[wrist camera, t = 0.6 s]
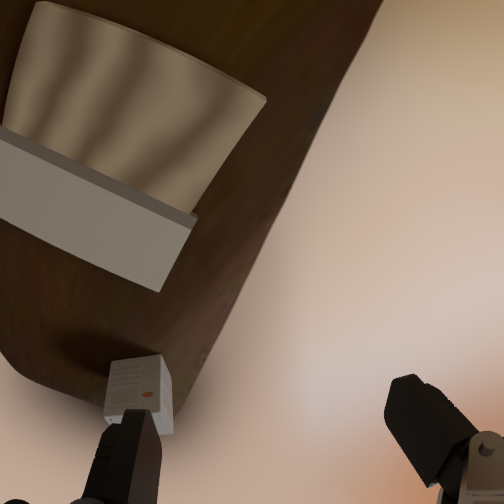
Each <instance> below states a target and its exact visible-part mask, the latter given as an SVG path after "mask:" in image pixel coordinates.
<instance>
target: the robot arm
mask: <svg viewBox="0 0 504 504" xmlns="http://www.w3.org/2000/svg"><path fill="white" fill-rule="evenodd" d="M384 419H385V423H386V425H387V427H388V429H389V430H390V431H391V433H392V435H393V436H394V438H395V439H396V441H397V442H398V444H399V445H400V447H401V448H402V450H403V452H404V453H405V454H406V456H407V458H408V459H409V461H410V462H411V464H412V465H413V467H414V468H415V470H416V471H417V473H418V475H419V476H420V478H421V479H422V481H423V482H424V484H425V485H426V487H427V488H429V487H432V486H433V485H436V484H438V483H439V484H440V485H441V489H440V491H439V495H438V500H437V504H504V437H501V436H500V435H499V434H497V433H494V432H492V431H483V432H479V431H478V430H477V429H476V428H475V427H474V426H473V425H472V423H471V422H470V421H469V420H468V419H467V418H466V417H465V416H464V415H463V414H462V413H461V412H460V411H459V410H458V409H457V407H454V404H452V402H451V401H450V400H448V399H447V397H446V396H445V395H444V394H443V393H442V392H441V391H440V390H439V389H438V388H436V387H434V386H432V385H430V384H428V383H426V384H424V383H423V382H422V381H421V380H420V378H419V377H418V376H417V375H415V374H410V375H406V376H402V377H399V378H396V379H394V380H393V381H392V383H391V386H390V390H389V395H388V398H387V402H386V406H385V410H384ZM161 460H162V447H161V441H160V438H159V435H158V432H157V429H156V426H155V423H154V420H153V417H152V414H151V411H150V410H149V409H126V410H125V411H124V414H123V418H122V421H121V424H118V423H112V424H111V425H110V426H109V427H108V428H107V429H106V430H105V431H104V432H103V433H102V436H101V439H100V442H99V445H98V448H97V451H96V454H95V458H94V460H93V463H92V466H91V469H90V473H89V476H88V479H87V483H86V486H85V489H84V493H83V495H82V497H81V499H77V500H75V501H73V502H71V503H70V504H157V496H158V486H159V477H160V468H161ZM4 504H29V503H28V502H26V501H24V500H19V499H13V500H10V501H7V502H6V503H4Z"/></svg>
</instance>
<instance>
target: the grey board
mask: <svg viewBox="0 0 504 504" xmlns="http://www.w3.org/2000/svg"><path fill="white" fill-rule="evenodd" d="M0 218H2V219H4V220H6V221H8V222H9V223H11V224H13V225H15V226H17V227H19V228H21V229H23V230H25V231H26V232H28V233H30V234H32V235H34V236H36V237H38V238H40V239H42V240H44V241H46V242H48V243H50V244H52V245H54V246H56V247H58V248H60V249H62V250H65V251H67V252H69V253H71V254H73V255H75V256H77V257H79V258H81V259H84V260H86V261H88V262H90V263H92V264H94V265H97V266H99V267H101V268H103V269H105V270H108V271H110V272H112V273H114V274H117V275H119V276H121V277H124V278H126V279H128V280H130V281H133V282H135V283H137V284H140V285H142V286H145V287H147V288H149V289H152V290H154V291H157V292H159V291H160V289H161V287H162V286H163V284H164V282H165V280H166V278H167V276H168V274H169V272H170V270H171V268H172V266H173V264H174V262H175V260H176V258H177V256H178V254H179V253H180V251H181V249H182V247H183V245H184V243H185V241H186V239H187V237H188V236H189V234H190V232H191V230H192V228H193V226H194V225H195V223H196V221H197V219H198V217H197V214H196V213H194V212H192V211H191V213H190V214H189V215H188V214H186V213H184V212H182V211H180V210H178V209H176V208H174V207H172V206H169V205H167V204H165V203H163V202H161V201H159V200H157V199H155V198H153V197H151V196H148V195H146V194H144V193H142V192H140V191H138V190H136V189H134V188H132V187H130V186H127V185H125V184H123V183H121V182H119V181H117V180H115V179H113V178H111V177H108V176H106V175H104V174H102V173H100V172H98V171H96V170H94V169H91V168H89V167H87V166H85V165H83V164H81V163H79V162H77V161H75V160H72V159H70V158H68V157H66V156H64V155H62V154H60V153H57V152H55V151H53V150H51V149H49V148H47V147H45V146H43V145H40V144H38V143H36V142H34V141H32V140H30V139H28V138H25V137H23V136H21V135H19V134H17V133H15V132H13V131H10V130H8V129H6V128H4V127H2V123H0Z"/></svg>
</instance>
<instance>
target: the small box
mask: <svg viewBox="0 0 504 504" xmlns="http://www.w3.org/2000/svg"><path fill="white" fill-rule="evenodd" d="M126 409H149V410H150V411H151V414H152V417H153V420H154V423H155V426H156V429H157V432H158V435H165V434H173V412H172V382H171V376H170V374H169V372H168V369H167V367H166V365H165V362H164V360H163V358H162V355H161V354H158V355H151V356H145V357H138V358H130V359H123V360H116V361H112V362H111V367H110V373H109V379H108V385H107V391H106V397H105V403H104V411H103V417H104V418H105V420H106V421H107V422H108V423H109V425H111V424H112V423H118V424H121V421H122V418H123V414H124V411H125V410H126Z"/></svg>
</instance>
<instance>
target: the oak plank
mask: <svg viewBox="0 0 504 504" xmlns="http://www.w3.org/2000/svg"><path fill="white" fill-rule="evenodd" d="M266 102H267V101H266V97H265V96H263V95H262V94H260V93H258V92H257V91H255V90H253V89H252V88H250V87H248V86H247V85H245V84H243V83H241V82H240V81H238V80H236V79H234V78H233V77H231V76H229V75H227V74H225V73H224V72H222V71H220V70H218V69H216V68H214V67H212V66H210V65H209V64H207V63H205V62H203V61H201V60H199V59H197V58H195V57H193V56H191V55H189V54H187V53H185V52H183V51H180V50H178V49H176V48H174V47H172V46H170V45H168V44H165V43H163V42H161V41H159V40H156V39H154V38H152V37H150V36H147V35H145V34H142V33H140V32H138V31H135V30H133V29H130V28H128V27H125V26H122V25H120V24H117V23H114V22H112V21H109V20H106V19H103V18H100V17H98V16H95V15H92V14H89V13H86V12H82V11H79V10H76V9H73V8H69V7H66V6H62V5H59V4H55V3H51V2H47V1H42V2H36V4H35V7H34V9H33V12H32V14H31V17H30V19H29V22H28V25H27V28H26V30H25V33H24V36H23V39H22V42H21V45H20V49H19V52H18V55H17V59H16V62H15V66H14V70H13V74H12V78H11V82H10V86H9V91H8V95H7V100H6V105H5V111H4V116H3V123H2V127H4V128H6V129H8V130H10V131H13V132H15V133H17V134H19V135H21V136H23V137H25V138H28V139H30V140H32V141H34V142H36V143H38V144H40V145H43V146H45V147H47V148H49V149H51V150H53V151H55V152H57V153H60V154H62V155H64V156H66V157H68V158H70V159H72V160H75V161H77V162H79V163H81V164H83V165H85V166H87V167H89V168H91V169H94V170H96V171H98V172H100V173H102V174H104V175H106V176H108V177H111V178H113V179H115V180H117V181H119V182H121V183H123V184H125V185H127V186H130V187H132V188H134V189H136V190H138V191H140V192H142V193H144V194H146V195H148V196H151V197H153V198H155V199H157V200H159V201H161V202H163V203H165V204H167V205H169V206H172V207H174V208H176V209H178V210H180V211H182V212H184V213H186V214H188V215H189V214H190V213H191V211H192V210H193V208H194V207H195V205H196V203H197V202H198V200H199V199H200V197H201V196H202V194H203V193H204V191H205V189H206V188H207V186H208V185H209V183H210V182H211V180H212V179H213V177H214V176H215V174H216V173H217V171H218V170H219V168H220V167H221V165H222V164H223V162H224V161H225V159H226V158H227V157H228V155H229V154H230V152H231V151H232V149H233V148H234V146H235V145H236V143H237V142H238V141H239V139H240V138H241V136H242V135H243V133H244V132H245V131H246V129H247V128H248V126H249V125H250V124H251V122H252V121H253V119H254V118H255V117H256V115H257V114H258V113H259V111H260V110H261V108H262V107H263V106H264V104H265V103H266Z"/></svg>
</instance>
